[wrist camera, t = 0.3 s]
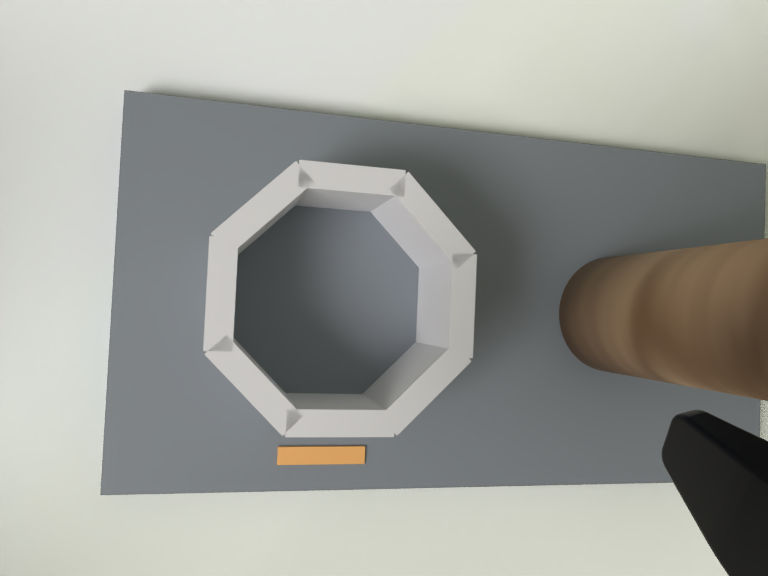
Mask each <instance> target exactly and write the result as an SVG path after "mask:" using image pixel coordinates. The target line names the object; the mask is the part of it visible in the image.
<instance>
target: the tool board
mask: <svg viewBox="0 0 768 576" xmlns="http://www.w3.org/2000/svg"><path fill="white" fill-rule="evenodd" d="M765 181H766V165H765V164H757V163H748V162H739V161H731V160H722V159H713V158H705V157H696V156H688V155H679V154H670V153H662V152H653V151H644V150H636V149H627V148H619V147H610V146H601V145H593V144H584V143H575V142H567V141H558V140H549V139H541V138H532V137H524V136H515V135H506V134H498V133H489V132H480V131H472V130H463V129H455V128H446V127H437V126H429V125H420V124H411V123H403V122H394V121H386V120H377V119H368V118H360V117H351V116H342V115H334V114H325V113H316V112H308V111H299V110H291V109H282V108H273V107H265V106H256V105H247V104H239V103H230V102H222V101H213V100H204V99H196V98H187V97H178V96H170V95H161V94H152V93H144V92H135V91H127V90H124V107H123V124H122V141H121V157H120V174H119V191H118V208H117V225H116V242H115V259H114V275H113V292H112V309H111V326H110V343H109V360H108V377H107V393H106V410H105V427H104V444H103V461H102V478H101V495H128V494H174V493H219V492H264V491H309V490H354V489H400V488H445V487H490V486H535V485H581V484H626V483H671V482H673V481H672V479H671V477H670V475H669V474H668V472H667V470H666V468H665V466H664V464H663V461H662V456H661V451H662V447H663V444H664V441H665V438H666V435H667V432H668V429H669V426H670V423H671V421H672V419H673V417H674V416H676V415H677V414H680V413H684V412H688V411H692V410H703V411H705V412H708V413H710V414H712V415H714V416H716V417H718V418H720V419H722V420H724V421H727V422H729V423H731V424H733V425H735V426H737V427H739V428H741V429H743V430H745V431H747V432H749V433H752V434H754V435H756V436H758V437H759V432H760V399H755V398H749V397H744V396H738V395H733V394H727V393H722V392H716V391H711V390H705V389H700V388H694V387H688V386H683V385H677V384H672V383H666V382H661V381H655V380H650V379H644V378H639V377H633V376H628V375H622V374H617V373H611V372H605V371H600V370H597V369H594V368H591V367H589V366H587V365H586V364H584V363H582V362H581V361H580V360H579V359H578V358H577V357H576V356H575V355H574V354H573V353H572V352H571V350H570V349H569V347H568V346H567V344H566V342H565V340H564V338H563V335H562V332H561V328H560V322H559V307H560V301H561V297H562V294H563V291H564V288H565V286H566V285H567V283H568V281H569V280H570V278H571V277H572V276H573V274H574V273H575V272H576V271H577V270H578V269H580V268H581V267H582V266H584V265H585V264H587V263H589V262H591V261H593V260H596V259H600V258H608V257H616V256H624V255H633V254H641V253H649V252H658V251H666V250H675V249H683V248H691V247H700V246H708V245H717V244H725V243H733V242H742V241H750V240H758V239H764V223H765Z"/></svg>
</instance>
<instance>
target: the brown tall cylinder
mask: <svg viewBox="0 0 768 576" xmlns="http://www.w3.org/2000/svg"><path fill="white" fill-rule="evenodd" d="M559 322H560V328H561V332H562V335H563V338H564V340H565V342H566V344H567V346H568V347H569V349H570V350H571V352H572V353H573V354H574V355H575V356H576V357H577V358H578V359H579V360H580V361H581V362H582V363H584V364H586V365H587V366H589V367H591V368H594V369H597V370H600V371H605V372H611V373H617V374H622V375H628V376H633V377H639V378H644V379H650V380H655V381H661V382H666V383H672V384H677V385H683V386H688V387H694V388H700V389H705V390H711V391H716V392H722V393H727V394H733V395H738V396H744V397H749V398H755V399H760V400H766V401H768V238H767V239H758V240H750V241H742V242H733V243H725V244H717V245H708V246H700V247H691V248H683V249H675V250H666V251H658V252H649V253H641V254H633V255H624V256H616V257H608V258H600V259H596V260H593V261H591V262H589V263H587V264H585V265H584V266H582V267H581V268H580V269H578V270H577V271H576V272H575V273H574V274H573V276H572V277H571V278H570V280H569V281H568V283H567V285H566V286H565V288H564V291H563V294H562V297H561V301H560V307H559Z"/></svg>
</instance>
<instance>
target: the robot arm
mask: <svg viewBox="0 0 768 576" xmlns="http://www.w3.org/2000/svg"><path fill="white" fill-rule="evenodd" d="M661 456H662V461H663V464H664V466H665V468H666V470H667V472H668V474H669V475H670V477H671V479H672V481H673V483H674V484H675V486H676V488H677V490H678V491H679V493H680V495H681V497H682V498H683V500H684V502H685V504H686V506H687V507H688V509H689V511H690V513H691V514H692V516H693V518H694V520H695V521H696V523H697V525H698V527H699V529H700V530H701V532H702V534H703V536H704V537H705V539H706V541H707V543H708V544H709V546H710V548H711V549H712V551H713V552H714V554H715V556H716V557H717V559H718V560H719V562H720V563H721V565H722V566H723V568H724V569H725V571H726V572H727V574H728V575H729V576H768V441H766V440H764V439H762V438H760V437H758V436H756V435H754V434H752V433H749V432H747V431H745V430H743V429H741V428H739V427H737V426H735V425H733V424H731V423H729V422H727V421H724V420H722V419H720V418H718V417H716V416H714V415H712V414H710V413H708V412H705V411H703V410H692V411H688V412H684V413H680V414H677V415H676V416H674V417H673V419H672V421H671V423H670V426H669V429H668V432H667V435H666V438H665V441H664V444H663V447H662V451H661Z"/></svg>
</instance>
